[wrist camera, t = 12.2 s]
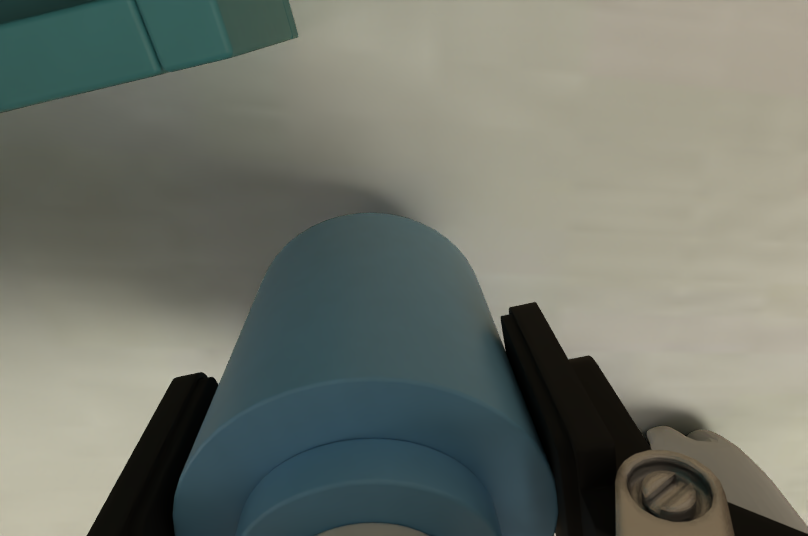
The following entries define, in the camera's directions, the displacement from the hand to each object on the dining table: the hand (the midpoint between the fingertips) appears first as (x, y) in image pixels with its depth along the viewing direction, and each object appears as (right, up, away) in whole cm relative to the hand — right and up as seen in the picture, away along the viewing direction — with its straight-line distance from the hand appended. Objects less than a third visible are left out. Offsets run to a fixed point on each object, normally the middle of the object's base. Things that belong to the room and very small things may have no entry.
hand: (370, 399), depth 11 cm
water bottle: (0, +1, +3) cm, 3 cm away
